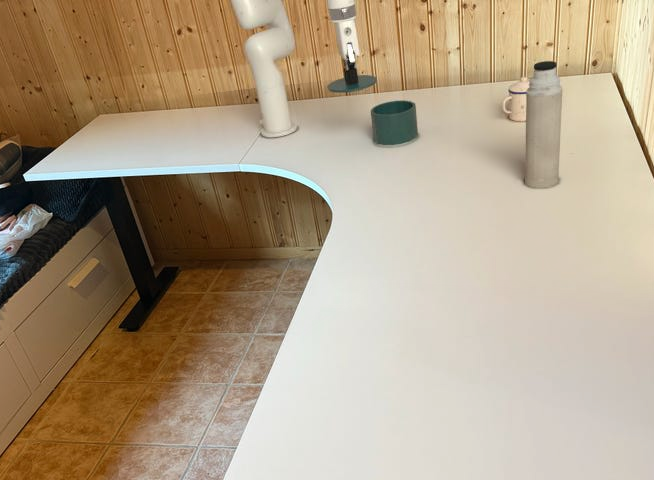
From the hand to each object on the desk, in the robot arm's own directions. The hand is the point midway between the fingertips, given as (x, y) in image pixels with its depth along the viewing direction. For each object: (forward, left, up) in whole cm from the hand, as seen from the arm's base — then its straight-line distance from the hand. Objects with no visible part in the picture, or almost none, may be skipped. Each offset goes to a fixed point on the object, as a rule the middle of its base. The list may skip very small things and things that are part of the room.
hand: (351, 81), depth 195 cm
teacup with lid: (+31, +39, -19) cm, 53 cm away
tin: (+6, +10, -19) cm, 22 cm away
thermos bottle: (+63, +2, -19) cm, 66 cm away
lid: (0, 0, -1) cm, 1 cm away
